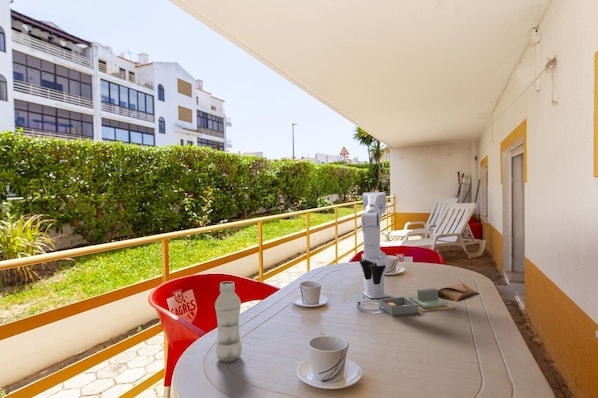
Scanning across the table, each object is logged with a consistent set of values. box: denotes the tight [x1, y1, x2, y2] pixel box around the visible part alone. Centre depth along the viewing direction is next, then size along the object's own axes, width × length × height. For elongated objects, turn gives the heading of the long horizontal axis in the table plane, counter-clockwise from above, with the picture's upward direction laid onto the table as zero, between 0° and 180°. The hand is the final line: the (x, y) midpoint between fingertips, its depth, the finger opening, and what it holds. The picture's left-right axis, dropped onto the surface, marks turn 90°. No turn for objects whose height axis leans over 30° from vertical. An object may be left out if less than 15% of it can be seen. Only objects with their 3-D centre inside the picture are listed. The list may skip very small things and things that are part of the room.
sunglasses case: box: [438, 282, 479, 303], centre depth 142 cm, size 18×7×7 cm
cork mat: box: [418, 303, 456, 313], centre depth 131 cm, size 13×13×1 cm
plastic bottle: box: [214, 281, 243, 363], centre depth 92 cm, size 6×7×20 cm
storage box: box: [378, 296, 419, 317], centre depth 126 cm, size 10×10×3 cm
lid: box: [408, 288, 449, 308], centre depth 131 cm, size 10×10×5 cm
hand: (372, 281), depth 131 cm, fingers open, 7 cm apart
